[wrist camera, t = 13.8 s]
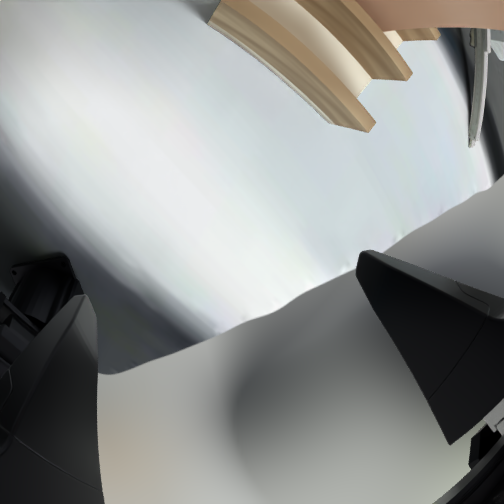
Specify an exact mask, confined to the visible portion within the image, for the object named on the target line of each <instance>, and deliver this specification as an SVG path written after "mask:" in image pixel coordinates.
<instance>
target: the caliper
mask: <svg viewBox="0 0 504 504" xmlns="http://www.w3.org/2000/svg"><path fill="white" fill-rule="evenodd" d="M470 38H471V39H470V46H472V47H474V48H475V74H474V90H473V100H472V108H471V116H470V123H469V138H470V142H469V148H472V147H473V146H475V141H479V137H480V131H481V125H482V119H483V112H484V104H485V95H486V84H487V65H488V53H491V33H490V29H483V28H471V31H470Z"/></svg>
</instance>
